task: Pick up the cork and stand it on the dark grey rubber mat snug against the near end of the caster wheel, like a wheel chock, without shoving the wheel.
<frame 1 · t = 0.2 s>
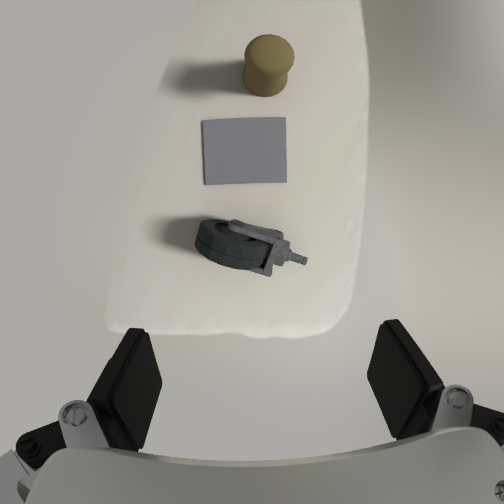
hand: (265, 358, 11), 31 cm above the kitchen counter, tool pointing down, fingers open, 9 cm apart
cork: (265, 77, 33), on the kitchen counter
caster wheel: (254, 238, 41), on the kitchen counter
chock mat: (245, 150, 37), on the kitchen counter
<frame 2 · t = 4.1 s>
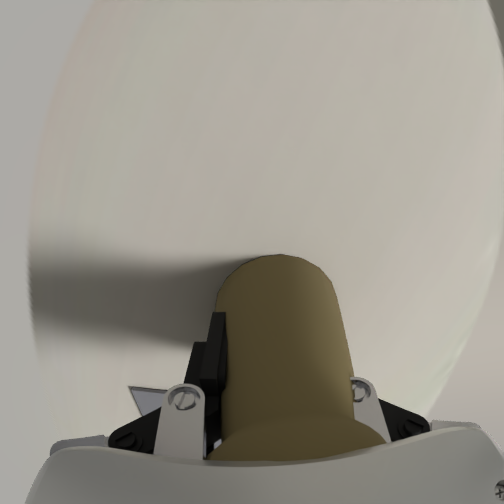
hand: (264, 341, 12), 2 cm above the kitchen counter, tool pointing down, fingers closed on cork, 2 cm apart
cork: (276, 310, 14), on the kitchen counter, touching gripper
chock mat: (221, 431, 17), on the kitchen counter
when the fingers open (4 cm above the kitchen counter, at t = 9.9 s): cork drops 2 cm, resting on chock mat.
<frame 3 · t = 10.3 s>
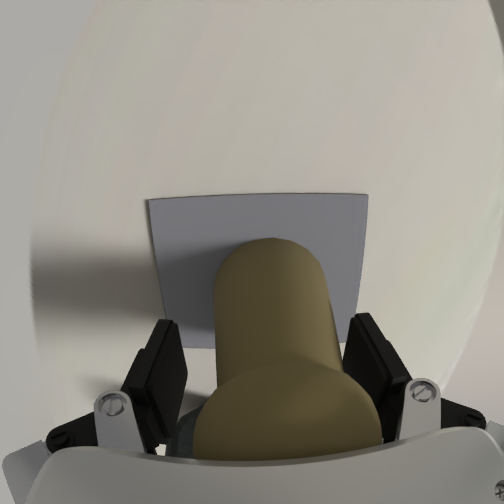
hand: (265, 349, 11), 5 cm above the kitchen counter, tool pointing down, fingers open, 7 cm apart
cork: (270, 290, 15), resting on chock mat
caster wheel: (273, 417, 20), on the kitchen counter
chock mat: (261, 278, 15), on the kitchen counter
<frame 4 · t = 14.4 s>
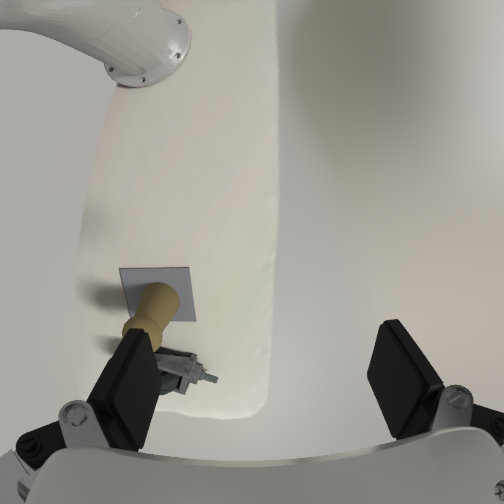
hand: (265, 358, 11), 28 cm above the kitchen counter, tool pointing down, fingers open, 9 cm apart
cork: (161, 299, 42), resting on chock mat
caster wheel: (176, 356, 46), on the kitchen counter
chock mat: (157, 295, 42), on the kitchen counter
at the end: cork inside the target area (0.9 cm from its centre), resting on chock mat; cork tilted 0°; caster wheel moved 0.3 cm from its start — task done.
